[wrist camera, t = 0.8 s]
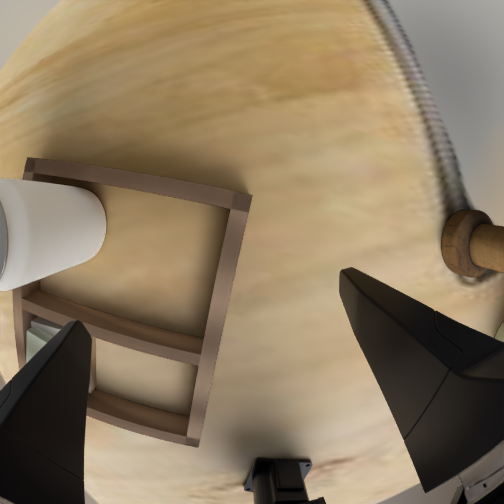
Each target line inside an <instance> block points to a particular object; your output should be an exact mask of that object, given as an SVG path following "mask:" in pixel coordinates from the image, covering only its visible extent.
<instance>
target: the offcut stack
mask: <svg viewBox="0 0 504 504" xmlns="http://www.w3.org/2000/svg"><path fill="white" fill-rule="evenodd" d="M31 326H32V328H30V329H28V330H27V343H26V363H27V362H28V361H29V360H30V359H31V358H32V357H33V356H34V355H35V354H36V353H37V352H38V351H39V350H40V349H41V348H42V347H43V346H44V345H45V344H46V343H47V342H48V341H49V340H50V339H51V338H52V337H53V336H55V335H56V334H57V333H58V332H59V331H60V330H61V329H62V328H63V327H64V326H62V325H59V324H57V323H54V322H52V321H49V320H47V319H44V318H42V317H40V316H38V317H37V318H35V319H34V320H32V321H31ZM91 337H92V336H91ZM95 387H96V338H95V337H92V353H91V374H90V385H89V393H92V391H93V390H94V389H95Z"/></svg>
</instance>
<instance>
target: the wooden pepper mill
mask: <svg viewBox="0 0 504 504" xmlns="http://www.w3.org/2000/svg"><path fill="white" fill-rule="evenodd" d="M442 254H443V258H444V261H445V263H446V265H447V267H448V268H449V269H450V270H451V271H452V272H454V273H457V274H460V275H464V276H467V277H478V276H480V275H482V274H483V273H484V272H485V271H486V270H487V268H488V269H492V270H495V271H499V272H503V273H504V227H503V226H496V225H493V223H492V221H491V219H490V218H489V216H488V215H487V214H486V213H484V212H482V211H479V210H467V209H465V210H460V211H458V212H456V213H455V214H453V215H452V216H451V218H450V219H449V220H448V222H447V224H446V226H445V229H444V232H443V236H442Z"/></svg>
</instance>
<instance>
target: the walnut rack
mask: <svg viewBox="0 0 504 504" xmlns="http://www.w3.org/2000/svg"><path fill="white" fill-rule="evenodd" d="M52 176H56V177H63V178H69V179H75V180H81V181H87V182H93V183H99V184H105V185H111V186H116V187H122V188H127V189H133V190H138V191H143V192H149V193H154V194H159V195H164V196H169V197H174V198H179V199H184V200H189V201H194V202H199V203H204V204H208V205H213V206H218V207H222V208H227V209H231V210H230V215H229V219H228V224H227V228H226V233H225V237H224V242H223V247H222V251H221V256H220V261H219V265H218V270H217V275H216V280H215V285H214V290H213V295H212V299H211V304H210V309H209V315H208V320H207V325H206V330H205V335H204V338H200V337H195V336H191V335H187V334H182V333H178V332H174V331H170V330H166V329H162V328H158V327H154V326H150V325H146V324H143V323H139V322H135V321H132V320H128V319H125V318H121V317H118V316H114V315H111V314H108V313H105V312H101V311H98V310H95V309H92V308H89V307H86V306H83V305H80V304H77V303H74V302H71V301H68V300H65V299H62V298H59V297H56V296H54V295H51V294H48V293H45V292H43V291H40V279H39V280H36V281H33V282H31V283H28V284H25V285H23V286H20V287H17V288H15V289H13V314H14V328H15V339H16V348H17V356H18V363H19V370H21V368H22V367H23V366H24V365H25V364H26V343H27V330H28V329H30V328H32V326H31V321H32V320H34V319H35V318H37V317H38V316H40V317H42V318H44V319H47V320H49V321H52V322H54V323H57V324H59V325H62V326H65V325H66V324H67V323H68V322H69V321H72V320H80V321H82V323H83V324H84V326H85V327H86V329H87V330H88V332H89V333H90V335H91V336H92V337H95V338H98V339H101V340H104V341H107V342H111V343H114V344H117V345H120V346H123V347H127V348H130V349H134V350H137V351H141V352H144V353H148V354H152V355H155V356H159V357H163V358H167V359H171V360H175V361H179V362H184V363H188V364H192V365H197V366H199V367H198V373H197V378H196V384H195V390H194V395H193V401H192V407H191V413H190V417H188V416H184V415H179V414H175V413H171V412H167V411H163V410H159V409H155V408H151V407H148V406H144V405H141V404H137V403H134V402H131V401H127V400H124V399H121V398H118V397H115V396H112V395H109V394H106V393H103V392H100V391H98V390H95V389H94V390H93V391H92V393H88V403H87V413H86V415H87V416H89V417H92V418H95V419H97V420H100V421H103V422H105V423H108V424H111V425H114V426H117V427H120V428H123V429H126V430H129V431H133V432H136V433H139V434H143V435H146V436H150V437H154V438H158V439H161V440H165V441H170V442H174V443H178V444H183V445H188V446H193V447H199V442H200V437H201V432H202V427H203V422H204V417H205V412H206V408H207V403H208V398H209V393H210V388H211V383H212V379H213V374H214V369H215V364H216V359H217V355H218V350H219V345H220V341H221V336H222V331H223V327H224V322H225V317H226V313H227V308H228V303H229V299H230V294H231V290H232V285H233V281H234V276H235V272H236V267H237V262H238V258H239V253H240V249H241V245H242V240H243V236H244V231H245V227H246V222H247V218H248V213H249V209H250V205H251V200H252V196H253V195H250V194H245V193H241V192H236V191H232V190H227V189H222V188H218V187H213V186H208V185H203V184H198V183H193V182H188V181H183V180H178V179H172V178H167V177H162V176H156V175H150V174H145V173H139V172H133V171H127V170H121V169H114V168H108V167H101V166H94V165H87V164H80V163H72V162H65V161H56V160H48V159H39V158H29V157H27V161H26V165H25V170H24V175H23V180H29V181H37V182H45V183H51V180H52Z"/></svg>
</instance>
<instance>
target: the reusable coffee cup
mask: <svg viewBox="0 0 504 504" xmlns="http://www.w3.org/2000/svg"><path fill="white" fill-rule="evenodd" d="M495 339H497V340H499V341H502V342H504V322H503V323H502V324H501V326H500V328H499V329H498V331H497V333H496V336H495Z"/></svg>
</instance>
